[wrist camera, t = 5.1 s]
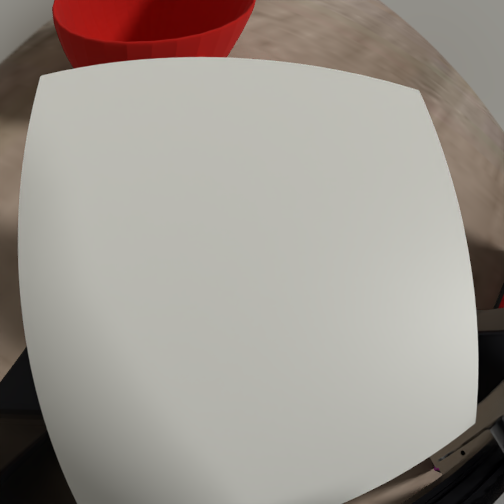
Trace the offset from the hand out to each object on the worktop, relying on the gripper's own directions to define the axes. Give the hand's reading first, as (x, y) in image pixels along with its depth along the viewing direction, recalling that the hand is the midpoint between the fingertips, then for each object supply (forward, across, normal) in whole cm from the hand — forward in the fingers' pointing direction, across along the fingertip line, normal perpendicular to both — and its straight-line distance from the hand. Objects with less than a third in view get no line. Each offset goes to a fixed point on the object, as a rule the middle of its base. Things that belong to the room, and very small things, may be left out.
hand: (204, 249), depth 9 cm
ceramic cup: (+20, 0, -2) cm, 20 cm away
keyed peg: (+4, 0, +6) cm, 7 cm away
